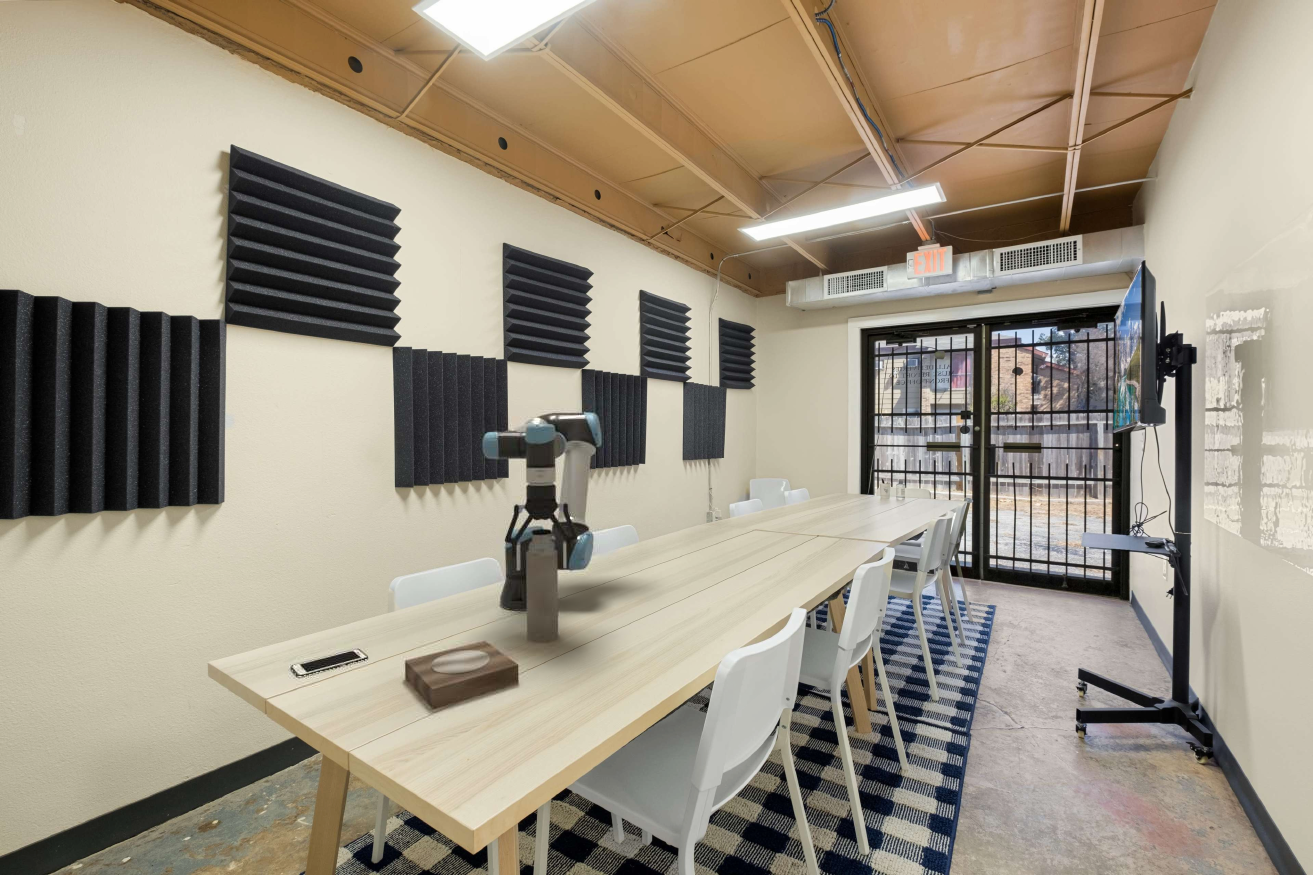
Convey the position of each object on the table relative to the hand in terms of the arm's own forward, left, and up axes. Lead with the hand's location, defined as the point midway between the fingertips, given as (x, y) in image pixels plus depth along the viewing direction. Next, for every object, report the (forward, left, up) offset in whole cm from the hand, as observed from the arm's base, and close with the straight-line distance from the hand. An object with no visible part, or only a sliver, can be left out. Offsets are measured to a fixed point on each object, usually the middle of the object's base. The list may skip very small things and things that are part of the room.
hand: (542, 568), depth 150 cm
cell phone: (-17, -46, -19) cm, 52 cm away
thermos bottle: (0, 0, -18) cm, 18 cm away
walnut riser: (+12, -26, -18) cm, 34 cm away
